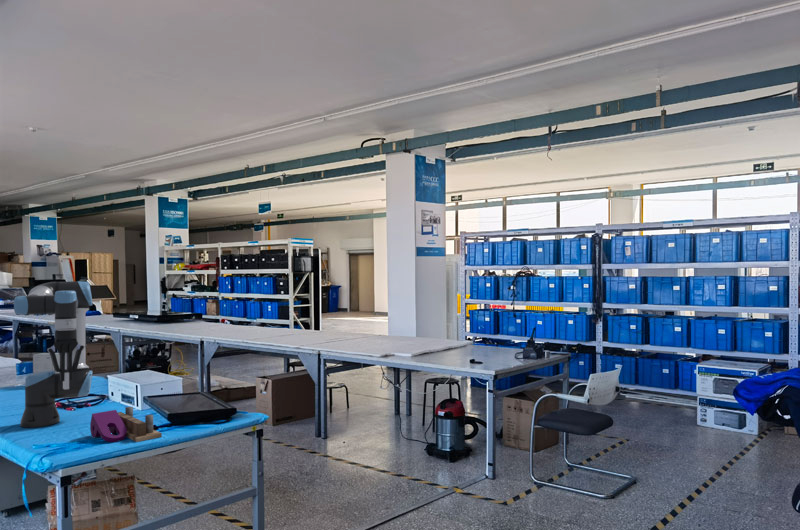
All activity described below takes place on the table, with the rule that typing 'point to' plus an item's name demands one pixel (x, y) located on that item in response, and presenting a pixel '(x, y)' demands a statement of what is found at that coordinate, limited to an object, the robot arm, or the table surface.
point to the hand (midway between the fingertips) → (66, 388)
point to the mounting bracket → (108, 426)
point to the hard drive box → (44, 362)
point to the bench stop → (138, 426)
